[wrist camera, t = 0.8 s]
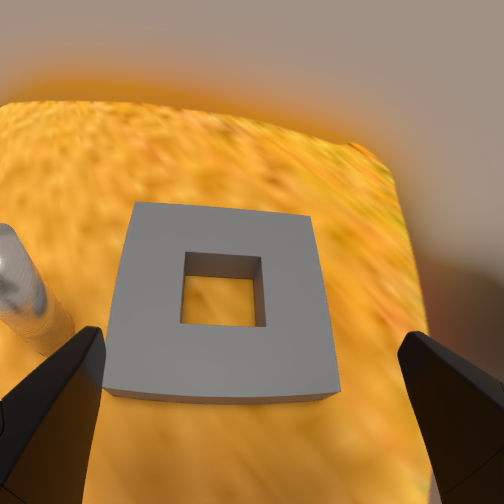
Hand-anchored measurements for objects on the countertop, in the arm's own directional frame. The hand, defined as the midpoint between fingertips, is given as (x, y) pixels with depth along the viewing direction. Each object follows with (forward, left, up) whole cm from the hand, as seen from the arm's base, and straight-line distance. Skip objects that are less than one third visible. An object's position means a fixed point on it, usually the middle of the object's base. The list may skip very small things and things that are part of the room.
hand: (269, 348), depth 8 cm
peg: (-5, +14, -15) cm, 22 cm away
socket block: (+7, +5, -15) cm, 18 cm away
